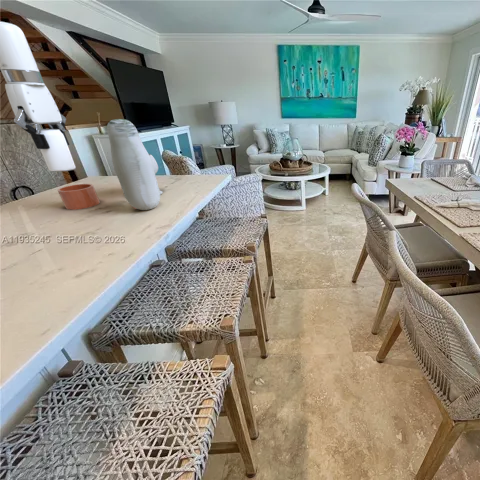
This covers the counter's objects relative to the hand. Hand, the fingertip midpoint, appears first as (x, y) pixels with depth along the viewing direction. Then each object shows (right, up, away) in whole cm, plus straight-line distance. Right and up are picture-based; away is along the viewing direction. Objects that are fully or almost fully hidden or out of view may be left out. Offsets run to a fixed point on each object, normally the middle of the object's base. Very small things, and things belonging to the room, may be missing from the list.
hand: (54, 146), depth 81 cm
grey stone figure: (+23, -18, +10) cm, 30 cm away
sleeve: (0, -17, +11) cm, 20 cm away
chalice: (+13, -11, +23) cm, 29 cm away
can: (0, -7, +3) cm, 7 cm away
